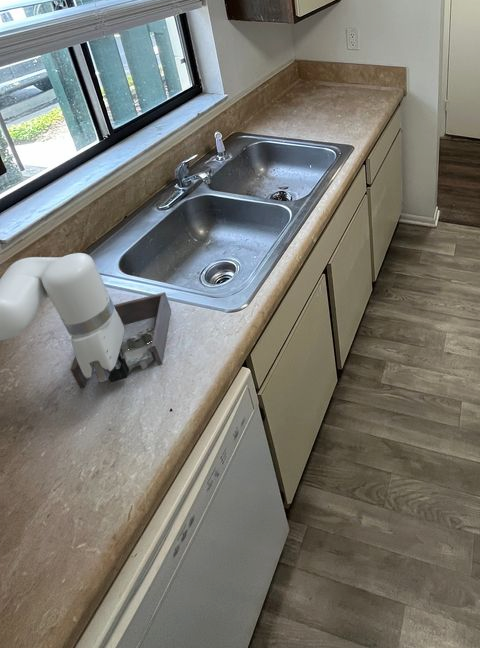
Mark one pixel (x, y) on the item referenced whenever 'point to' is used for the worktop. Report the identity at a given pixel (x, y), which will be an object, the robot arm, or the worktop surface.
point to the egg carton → (138, 349)
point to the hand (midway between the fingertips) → (120, 376)
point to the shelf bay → (137, 312)
